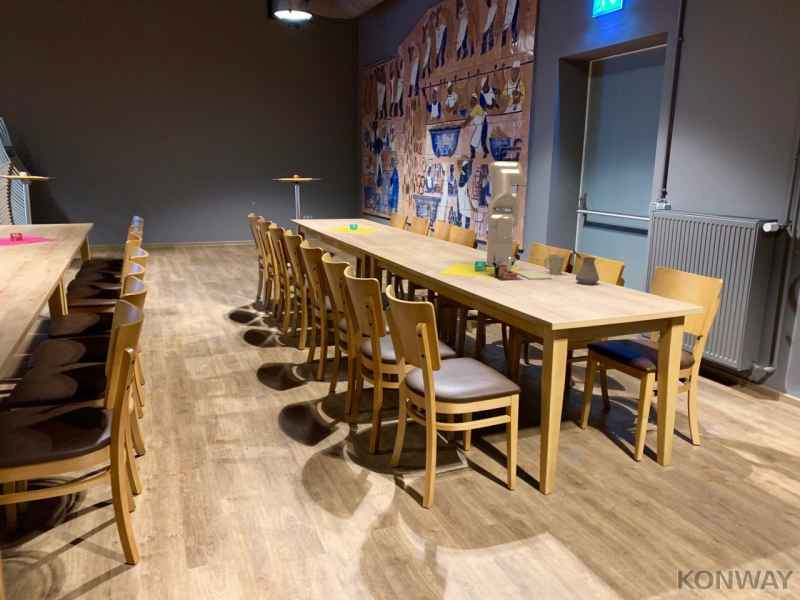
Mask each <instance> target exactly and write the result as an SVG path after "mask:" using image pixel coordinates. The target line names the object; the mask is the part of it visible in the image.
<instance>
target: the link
mask: <svg viewBox="0 0 800 600" xmlns="http://www.w3.org/2000/svg"><path fill="white" fill-rule="evenodd" d="M498 268H499V274H498V275H497V276H500V277H502V278H504V279H506V280H509V281H516V280H515V279H517V277H518V275H517V273H514V272H513V271H512V270H511V273H507V264H506V265H499V266H498ZM494 274H495V273H494ZM495 275H496V274H495Z"/></svg>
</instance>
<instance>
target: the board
mask: <svg viewBox="0 0 800 600" xmlns="http://www.w3.org/2000/svg"><path fill="white" fill-rule="evenodd" d="M512 272H514V273H517V276H519V277H520V278H522V279H526V280H528V281H548V280H549V281H552V278H553V277H552V276H548V275H546V274H543V273H541V272H539V271H535V270H517V271H516V270H515V271H514V270H513V271H512Z"/></svg>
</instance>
